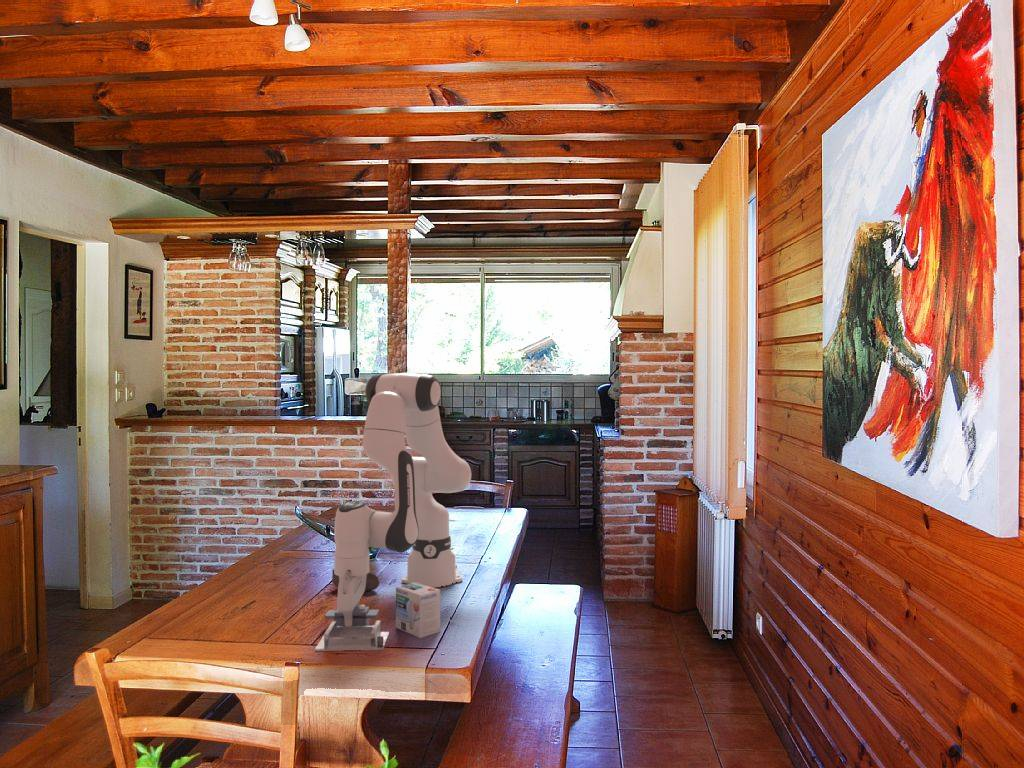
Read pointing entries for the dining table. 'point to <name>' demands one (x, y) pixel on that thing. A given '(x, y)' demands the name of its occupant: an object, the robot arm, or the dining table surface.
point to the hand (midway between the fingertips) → (351, 620)
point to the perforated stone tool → (371, 581)
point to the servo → (358, 614)
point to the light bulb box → (418, 609)
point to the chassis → (353, 638)
